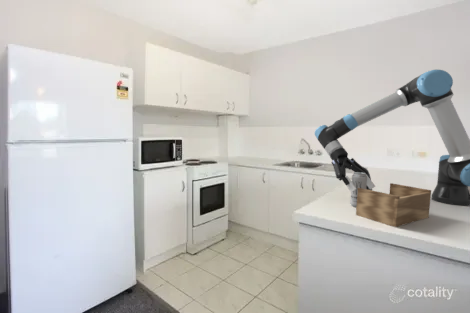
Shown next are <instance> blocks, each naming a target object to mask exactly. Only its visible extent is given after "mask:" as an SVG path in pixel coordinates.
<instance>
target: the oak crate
mask: <svg viewBox="0 0 470 313" xmlns="http://www.w3.org/2000/svg"><path fill="white" fill-rule="evenodd" d="M431 197H432V190H431V189H426V188H420V187H414V186H409V185H402V184H397V183H393V182H392V183H391V182H390V184H389V193H386V192H382V191H377V190H376V191H375V190H373V189H372V190H367V189H363V188H358V193H357V207H355V208H356V210H355V216H359V217H362V218H365V219H368V220H371V221H374V222H378V223H381V224H383V225H387V226H391V227H394V228H398V227H401V226H405V225H407V224H411V223H414V222H417V221H421V220H424V219H427V218H429V217H430V207H431Z"/></svg>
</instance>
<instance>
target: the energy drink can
mask: <svg viewBox="0 0 470 313" xmlns="http://www.w3.org/2000/svg"><path fill="white" fill-rule="evenodd" d="M351 182H352V183H353V184H354V186H355V187H356V190H355V191H353V192H350V202H349V204H350V206H351V207H354V208H356V207H357V193H358V188H363V189H366V186H367V176H366V173H362V172H354V171H353V174H352V175H351Z"/></svg>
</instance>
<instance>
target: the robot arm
mask: <svg viewBox="0 0 470 313" xmlns="http://www.w3.org/2000/svg"><path fill="white" fill-rule="evenodd" d="M453 83H454V80H453V77H452V75H451V74H450V73H449V72H447V71H446V70H443V69H431V70H428V71H425V72H423V73H422V74H420V75H418V76H417V77H415V78H413V79H412V80H411V81H409V82H407V83H406V84H404V85H402V86H401V87H399V88H397V89H396V90H395V91H394V92H393V93H390V94H389V95H388V96H385V97H383V98H381V99H378V100H377V101H375V102H372V103H371V104H369V105H367V106H365V107H362V108H360V109H358V110H357V111H354V112H352V113H351V114H350V113H349V114H347V115H344V116H343V117H341V118H340V119H338V120H336V121H334V122H333V123H332V124H330V125H329V126H328V125H326V124H322V125H320V126H319V127H317V128H316V129H315V130H314V136H315V137H316V139H317V141H318V142H319V144H320V145H321V147H322V148H323V149H324V150H325V152H326V154H327V155H328V156H329V158H330V159H331V164H332V166H333V170H334V174H335V177H336V179H338V180H339V181H342V182H343V183H344V185H346V187H347V189H348V190H349V191H350V193H351V192H353V191H355V190H356V187H355V186H354V184H353V183H352V179H350V177H349V176H348V175H347V172H346V170H347V169H348V170H351V171H352V172H353V173H354V172H362V173H366V176H367V174H368V173H369V174H370V172H369V170H368V169H367V170H368V171H367V170H365V169H364V168H365V167H364V168H363V166H362V165H361V164H359V163H358V161H356V159H355V158H354V157H351V159H350V158H349V157H348V156H349V154H348V152H347V150H346V149H345V148H344V146H343V145H342V144H341V142H340V141H339V140H338V139H340V138H342V137H344V136H345V135H347V134H348V133H350V132H351V131H353V130H354V129H356V128H358V127H359V126H362V125H364V124H366V123H369V122H371V121H372V120H376V119H377V118H380V117H381V116H383V115H386V114H388V113H389V112H392V111H394V110H396V109H398V108H400V107H407V106H409V105H412V104H414V103H419V104H420V105H421V107H422V108H426V109H428V112H429V114H430V116H431V118H432V121H433V123H434V125H435V128H436V129H437V131H438V134H439V135H440V137H441V140H442V142H443V144H444V148H445V149H446V151H447V152H448V154H443V155H440V157H439V161H438V171H437V172H438V173H437V182H436V186H435V187H434V190H433V191H432V192H431V198H430V200H432V201H436V202H439V203H443V204H448V205H457V206H470V190H469V188H470V137H469V135H468V133H467V131H466V128H465V127H464V124H463V122H462V120H461V118H460V116H459V114H458V112H457V109H456V107H455V106H454V103H453V102H452V98H453V96H454V92H453V90H452V86H453V85H454V84H453ZM367 186H368V187H369V189H370V190H371V189H372V190H373V188H375V187H376V185H375V184H374V182H373V181H372V179H371V180H370V178H369V177H368V176H367Z"/></svg>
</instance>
